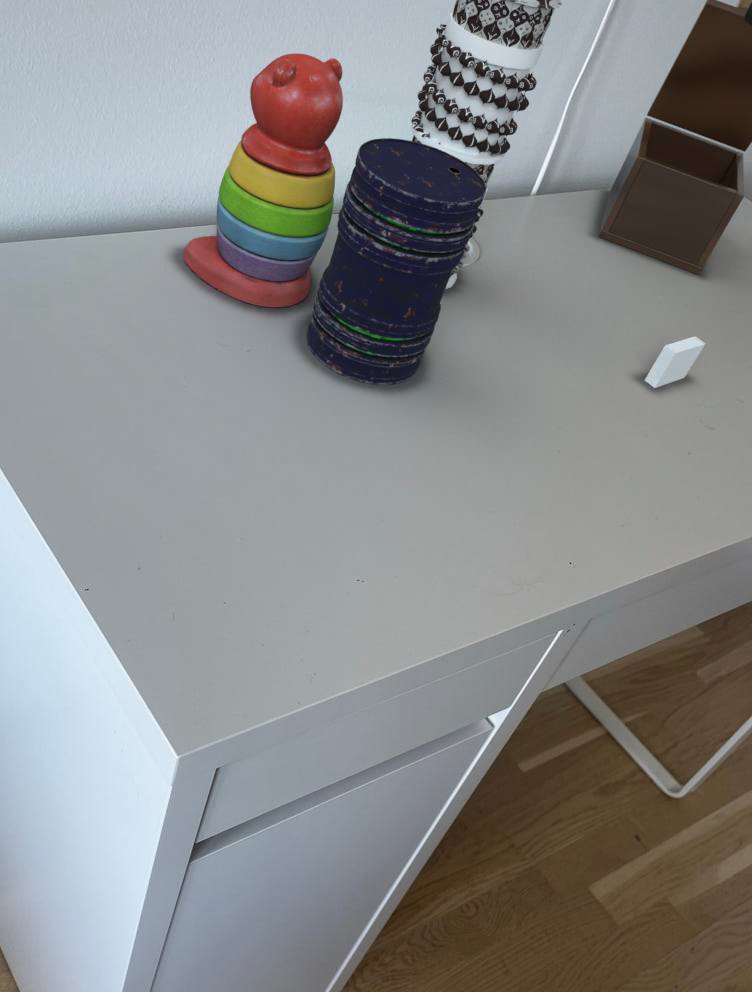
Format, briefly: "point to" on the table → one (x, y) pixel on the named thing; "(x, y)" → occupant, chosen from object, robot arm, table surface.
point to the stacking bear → (276, 187)
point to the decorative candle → (480, 82)
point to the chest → (673, 196)
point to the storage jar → (392, 259)
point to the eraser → (674, 361)
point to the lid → (712, 78)
